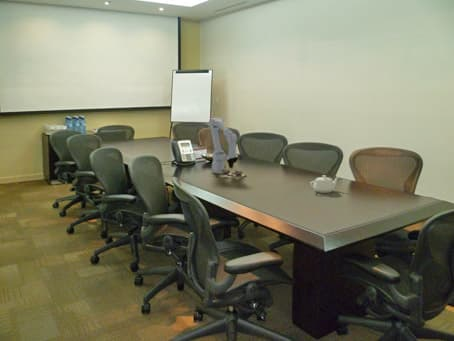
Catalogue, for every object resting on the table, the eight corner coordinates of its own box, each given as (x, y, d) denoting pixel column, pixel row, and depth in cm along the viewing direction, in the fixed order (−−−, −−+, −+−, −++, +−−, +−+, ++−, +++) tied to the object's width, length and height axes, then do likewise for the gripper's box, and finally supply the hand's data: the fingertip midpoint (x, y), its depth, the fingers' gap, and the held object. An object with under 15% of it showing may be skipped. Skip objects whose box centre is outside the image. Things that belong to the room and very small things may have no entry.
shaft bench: (218, 177, 312) (218, 170, 310) (227, 173, 323) (227, 167, 322) (237, 179, 303) (237, 172, 302) (246, 176, 315) (246, 169, 314)
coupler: (229, 170, 311) (229, 162, 310) (231, 169, 315) (231, 161, 314) (234, 170, 309) (234, 162, 308) (236, 169, 313) (236, 162, 311)
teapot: (316, 195, 257) (316, 178, 255) (304, 190, 270) (305, 174, 268) (344, 192, 265) (345, 175, 263) (332, 187, 278) (333, 172, 275)
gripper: (232, 151, 301) (232, 169, 304) (241, 149, 313) (241, 166, 316) (223, 151, 304) (224, 168, 307) (233, 148, 317) (233, 165, 319)
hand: (232, 167), depth 312 cm, fingers closed on coupler, 4 cm apart
